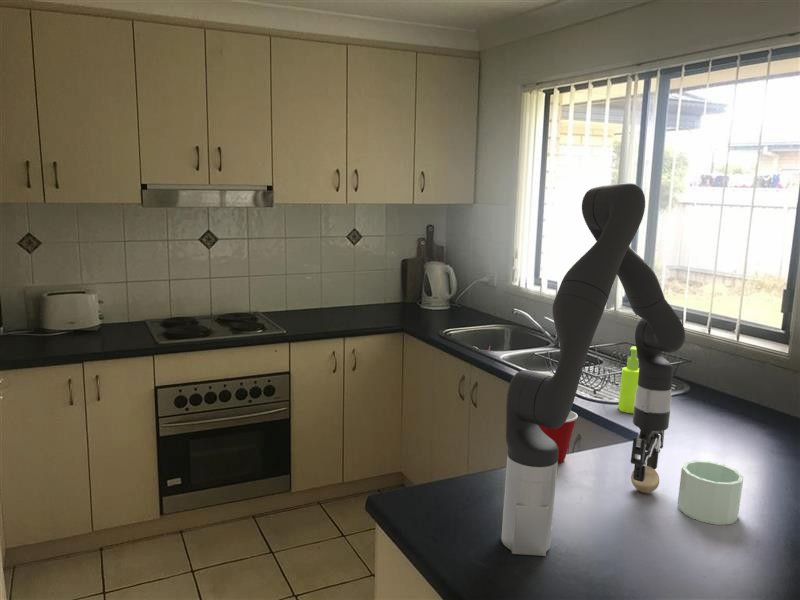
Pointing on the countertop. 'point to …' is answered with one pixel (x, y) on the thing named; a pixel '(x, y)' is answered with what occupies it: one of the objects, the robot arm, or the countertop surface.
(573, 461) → the countertop surface
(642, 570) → the countertop surface
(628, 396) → the soap dispenser
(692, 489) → the ceramic cup
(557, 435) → the plastic cup
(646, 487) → the wooden ball
